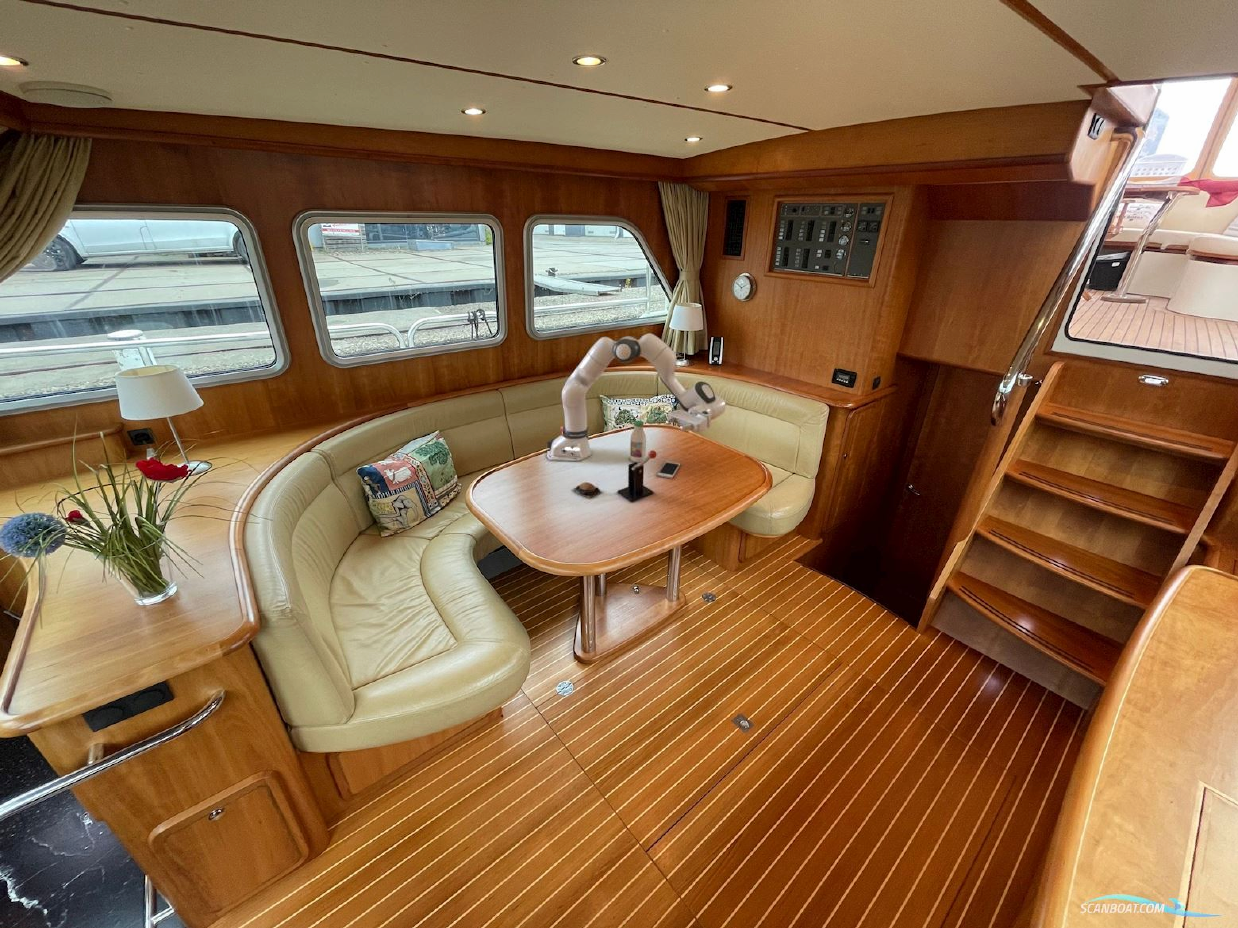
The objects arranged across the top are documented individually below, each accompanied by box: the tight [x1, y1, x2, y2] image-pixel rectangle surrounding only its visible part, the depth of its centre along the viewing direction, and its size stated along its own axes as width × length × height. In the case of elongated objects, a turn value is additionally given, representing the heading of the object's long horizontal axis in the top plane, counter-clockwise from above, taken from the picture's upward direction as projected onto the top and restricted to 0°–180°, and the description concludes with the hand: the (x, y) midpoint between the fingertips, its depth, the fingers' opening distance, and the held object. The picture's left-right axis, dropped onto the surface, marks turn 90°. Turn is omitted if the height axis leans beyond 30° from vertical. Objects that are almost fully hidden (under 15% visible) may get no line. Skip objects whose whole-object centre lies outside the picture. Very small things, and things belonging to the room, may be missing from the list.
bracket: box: [617, 461, 654, 503], centre depth 206 cm, size 12×10×14 cm
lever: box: [631, 449, 657, 472], centre depth 206 cm, size 13×4×4 cm, turn 125°
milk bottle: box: [629, 420, 647, 463], centre depth 236 cm, size 8×8×20 cm
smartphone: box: [657, 461, 681, 479], centre depth 229 cm, size 7×15×1 cm, turn 159°
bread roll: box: [572, 482, 602, 499], centre depth 210 cm, size 11×8×4 cm
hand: (673, 426), depth 209 cm, fingers open, 8 cm apart
